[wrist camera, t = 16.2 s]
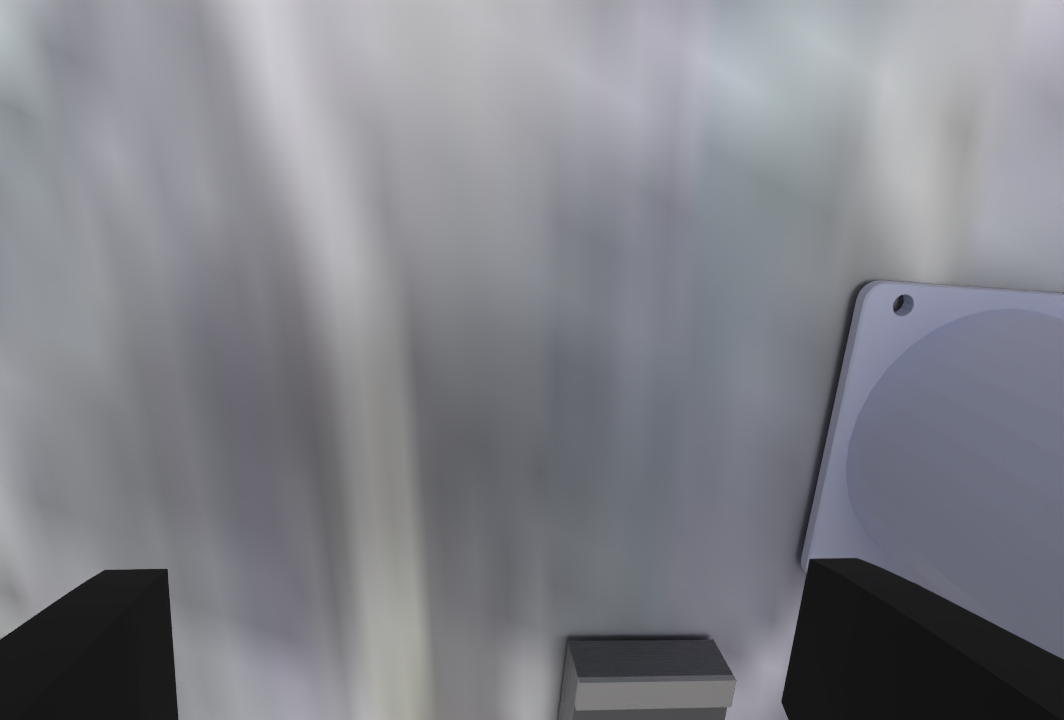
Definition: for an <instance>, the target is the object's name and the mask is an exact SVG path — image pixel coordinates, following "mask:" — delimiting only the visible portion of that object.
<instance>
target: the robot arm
mask: <svg viewBox="0 0 1064 720" xmlns="http://www.w3.org/2000/svg"><path fill="white" fill-rule="evenodd" d="M900 295H903V296H904V303H903V305H902V307H901V308H900V309H899V310H898V311H896V312H894V311H893V304H894V301H895V299H896V298H898V297H899V296H900ZM801 567H802V569H803V571H804V572H805V573H806V580H805V585H804V590H803V595H802V600H801V605H800V610H799V615H798V620H797V625H796V631H795V636H794V641H793V646H792V651H791V656H790V661H789V666H788V671H787V676H786V681H785V686H784V691H783V697H782V705H783V707H784V709H785V712H786V714H787V717H788V719H789V720H1064V293H1055V292H1041V291H1027V290H1012V289H998V288H984V287H970V286H955V285H941V284H927V283H912V282H898V281H884V280H878V281H872V282H870V283H869V284H867V285H865V286H864V287H863V288H862V290H861V291H860V292H859V294H858V297H857V299H856V304H855V308H854V313H853V318H852V323H851V327H850V332H849V337H848V341H847V346H846V351H845V355H844V360H843V365H842V369H841V374H840V379H839V383H838V388H837V393H836V397H835V402H834V407H833V412H832V416H831V421H830V426H829V430H828V435H827V440H826V444H825V449H824V454H823V458H822V463H821V468H820V472H819V477H818V482H817V486H816V491H815V496H814V501H813V505H812V510H811V515H810V519H809V524H808V529H807V533H806V538H805V543H804V547H803V552H802V557H801ZM915 583H918V584H919V585H920V586H919V585H917V584H915ZM0 720H178V708H177V695H176V681H175V667H174V653H173V639H172V625H171V612H170V598H169V584H168V570H167V569H134V570H104V571H102V572H101V573H99V574H97V575H96V576H94V577H92V578H91V579H89V580H87V581H86V582H84V583H83V584H81V585H80V586H78V587H77V588H75V589H74V590H72V591H71V592H69V593H68V594H66V595H65V596H63V597H62V598H60V599H59V600H57V601H56V602H54V603H53V604H51V605H50V606H48V607H47V608H46V609H44V610H43V611H41V612H40V613H38V614H37V615H35V616H34V617H32V618H31V619H30V620H28V621H27V622H25V623H24V624H22V625H21V626H19V627H18V628H17V629H15V630H14V631H12V632H11V633H9V634H8V635H6V636H5V637H3V638H2V639H1V640H0Z"/></svg>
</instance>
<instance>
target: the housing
mask: <svg viewBox="0 0 1064 720" xmlns="http://www.w3.org/2000/svg"><path fill="white" fill-rule="evenodd" d="M735 684H736V679H735V677H734V676H733V674H732V672H731V670H730V668H729V667H728V665H727V663H726V661H725V660H724V658H723V656H722V654H721V652H720V651H719V649H718V647H717V645H716V644H715V642H714V640H621V641H568V643H567V651H566V660H565V668H564V676H563V684H562V693H561V701H560V709H559V717H558V720H725V714H726V709H727V707H731V705H732V700H733V694H734V689H735Z"/></svg>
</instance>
